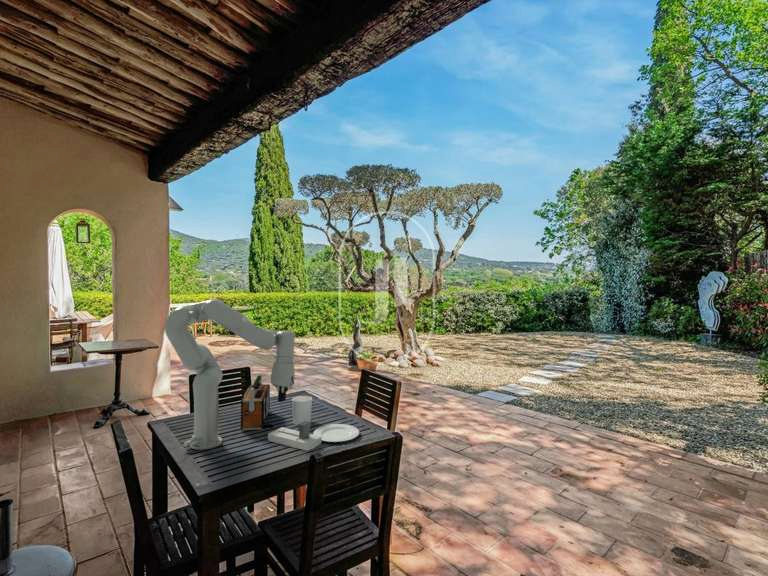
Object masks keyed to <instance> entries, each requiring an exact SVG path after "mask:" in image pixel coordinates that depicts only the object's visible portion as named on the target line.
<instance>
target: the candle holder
mask: <svg viewBox="0 0 768 576" xmlns="http://www.w3.org/2000/svg"><path fill="white" fill-rule="evenodd" d="M291 402H292V403H291V405H292V407H291V408H292V423H293V425H295V426H298V424H300V423H302V422H304V421H309V422H311V420H312V407H313V406H312V404H313V397H312V396H309V395H297V396H294V397H292V398H291Z"/></svg>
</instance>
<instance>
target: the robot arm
mask: <svg viewBox="0 0 768 576" xmlns="http://www.w3.org/2000/svg"><path fill="white" fill-rule="evenodd" d="M205 321H212V322H213V323H215V324H217V325H219V326H221V327H223V328H225V329H226V330H228V331H230V332H232V333H234V334H235V335H237V336H238V337H239V338H241V339H243V340H244V341H246V342H247V343H250V344H251V345H253V346H254V347H258V348H259V349H262V350H271V349H272V348H274V346H276V348H275V355H274V359H275V361H273V364H272V367H271V374H270V383H271V384H272V387H273V386H274V387H275V389H276V392H277V401H278V402H280V403H282V402H284V401H286V398H287V397H286V396H287V392H288V391H290V390H294V384H295V378H296V377H295V375H296V374H295V373H296V371H295V369H296V368H295V363H294V355H295V354H294V353H295V339H296V338H295V337H296V336H295V335H296V334H295V332H294V331H291V330H276V329H268V328H266V329H263V328H261V327H260V326H258V325H256V324H254V323H253V322H252V321H250V320H249V318H248V317H247V316H246V315H245V314H243V313H241V312H239V311H238V310H236V309H234V308H232V307H230V306H229V305H227V304H226V303H225V302H224V301H223V300H222V299H220V298H212V299H208V300H205V301H200V302H196V303H195V302H194V303H191V304H186V305H182V306H178V307H176V308H174V309H173V310H172V311H171V312H170V313H169V314H168V316H167V318H166V320H165V322H164V332H165V335H166V336H167V339H168V340H169V342H170V344H171V345H172V347H173V349H174V351H175V353H176V355H177V356H178V358H179V360H180V361H181V363H182V365H183V366H184V367H185V369H187V370H189V371H195V372H196V375H195V376H194V378H193V381H192V390H193V391H192V392H193V403H194V404H193V435H191V438H190V439H189V440H186V441H184V442H183V444H182V445H183V447H184V448H185V447H188V446H189V448H191V449H193V450H197V451H200V450H201V451H204V450H205V451H206V450H209V449H210V450H211V449H214V448H216V447H219V446H221V444H222V443H223V438H222V437H220V436H219V423H220V421H219V412H220V411H219V407H220V405H219V404H220V403H219V402H220V401H219V385H220V384H221V382H222V380H223V375H224V374H223V372H222V369H221V367H220V365H219V363H218V361H217V360H216V358H215V356H214V354H213V353H212V352H211V350H210V349H209V348H208V347H207V346H206V345H204V344H198V341H197V340H196V339H195V337H194V335H193V334H192V332H191V331H190V330H189V326H190V325H192V324H196V323H200V322H205Z"/></svg>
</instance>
